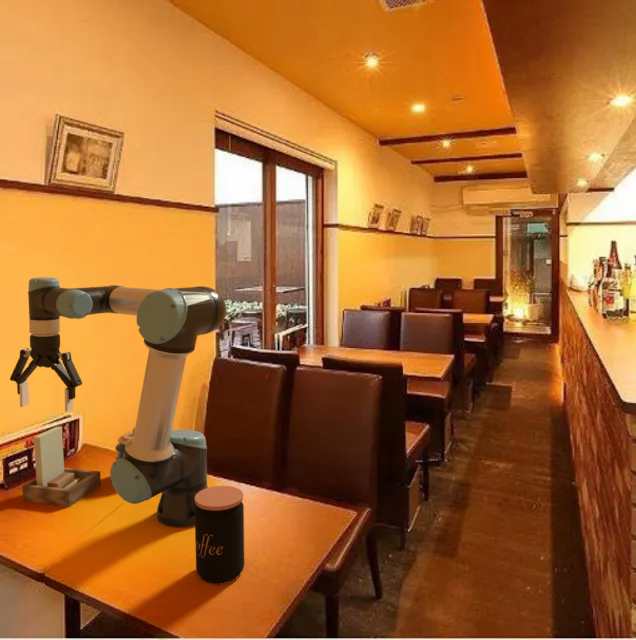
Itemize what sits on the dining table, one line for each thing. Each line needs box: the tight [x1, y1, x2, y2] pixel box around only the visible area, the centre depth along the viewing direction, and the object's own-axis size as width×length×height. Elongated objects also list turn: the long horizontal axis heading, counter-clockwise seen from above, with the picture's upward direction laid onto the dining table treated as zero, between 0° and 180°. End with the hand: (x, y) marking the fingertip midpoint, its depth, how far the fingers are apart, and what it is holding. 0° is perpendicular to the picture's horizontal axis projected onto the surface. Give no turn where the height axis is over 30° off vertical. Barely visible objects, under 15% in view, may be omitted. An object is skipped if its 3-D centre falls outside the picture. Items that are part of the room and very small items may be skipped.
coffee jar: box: [194, 485, 245, 585], centre depth 123 cm, size 11×11×18 cm
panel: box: [33, 426, 65, 486], centre depth 160 cm, size 2×9×18 cm, turn 167°
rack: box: [21, 467, 102, 508], centre depth 160 cm, size 15×14×6 cm
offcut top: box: [47, 472, 74, 488], centre depth 159 cm, size 3×8×2 cm, turn 171°
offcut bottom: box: [64, 478, 80, 489], centre depth 160 cm, size 4×10×2 cm, turn 167°
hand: (46, 407), depth 155 cm, fingers open, 13 cm apart
